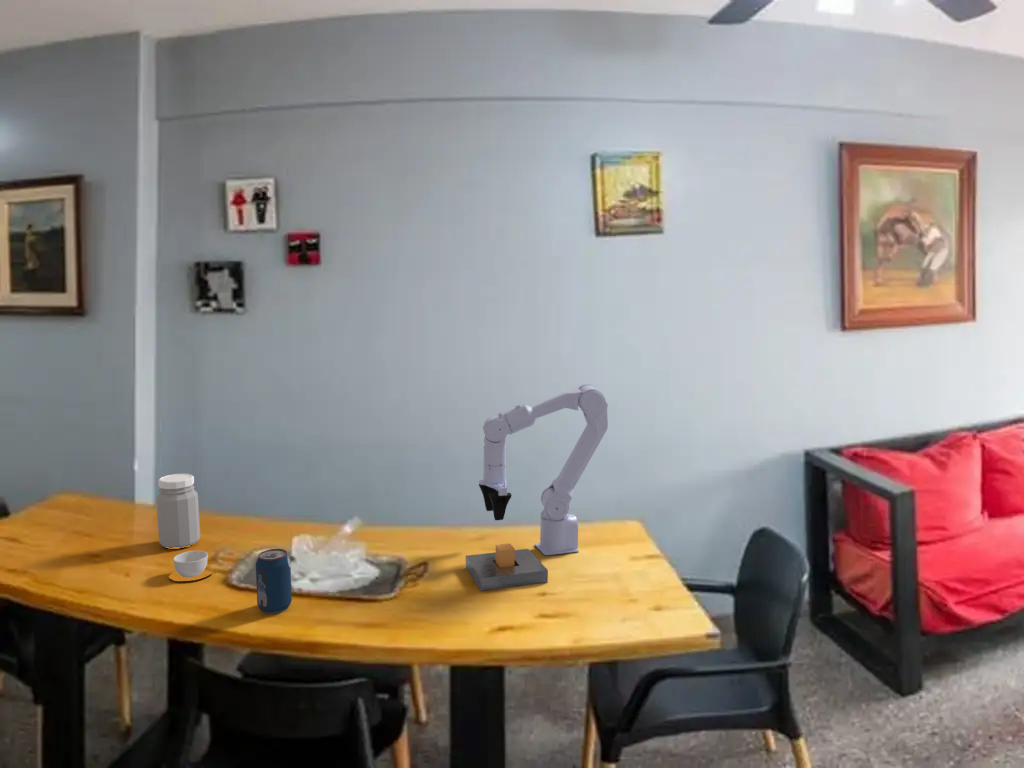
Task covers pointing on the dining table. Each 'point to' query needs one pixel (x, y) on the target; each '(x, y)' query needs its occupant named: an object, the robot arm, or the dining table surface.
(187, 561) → the teacup
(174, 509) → the jar
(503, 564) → the peach rectangular block
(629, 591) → the dining table surface
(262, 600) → the soda can
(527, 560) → the gray block with hole
